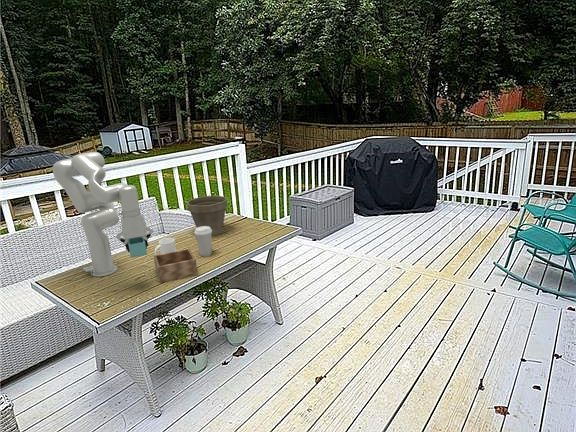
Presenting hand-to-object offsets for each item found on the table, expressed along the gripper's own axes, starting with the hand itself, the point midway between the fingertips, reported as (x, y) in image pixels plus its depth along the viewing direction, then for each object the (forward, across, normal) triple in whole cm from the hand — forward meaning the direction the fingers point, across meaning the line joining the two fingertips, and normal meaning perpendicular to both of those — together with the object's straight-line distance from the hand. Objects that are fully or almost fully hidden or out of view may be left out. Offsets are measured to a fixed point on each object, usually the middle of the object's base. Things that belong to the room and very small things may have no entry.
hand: (137, 249), depth 183 cm
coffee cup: (+18, +35, +21) cm, 45 cm away
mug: (+18, +14, +25) cm, 34 cm away
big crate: (+18, +16, +5) cm, 25 cm away
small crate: (+1, 0, 0) cm, 1 cm away
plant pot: (+18, +46, +55) cm, 74 cm away
